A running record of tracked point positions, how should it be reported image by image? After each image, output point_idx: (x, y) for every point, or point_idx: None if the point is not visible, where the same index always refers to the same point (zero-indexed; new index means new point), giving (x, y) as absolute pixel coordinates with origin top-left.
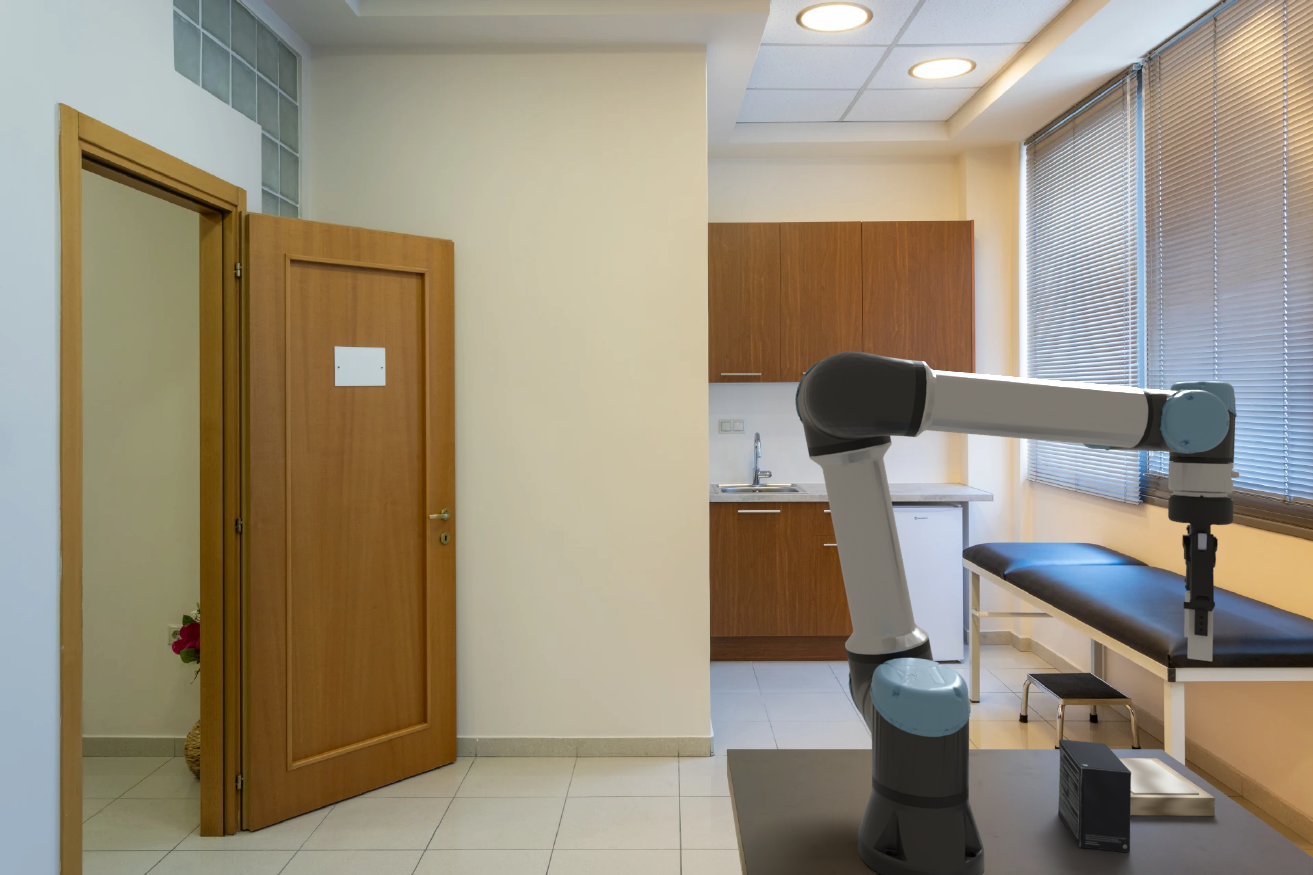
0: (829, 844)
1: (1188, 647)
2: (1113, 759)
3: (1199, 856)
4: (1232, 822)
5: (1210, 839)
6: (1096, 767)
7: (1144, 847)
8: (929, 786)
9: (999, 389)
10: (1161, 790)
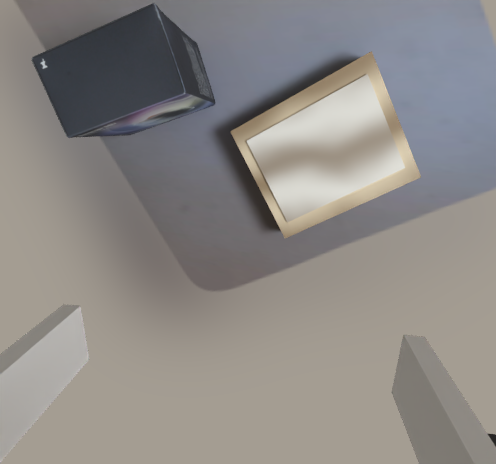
0: None
1: (37, 325)
2: (103, 109)
3: (162, 204)
4: (274, 247)
5: (212, 219)
6: (46, 83)
7: (151, 150)
8: None
9: None
10: (273, 176)
